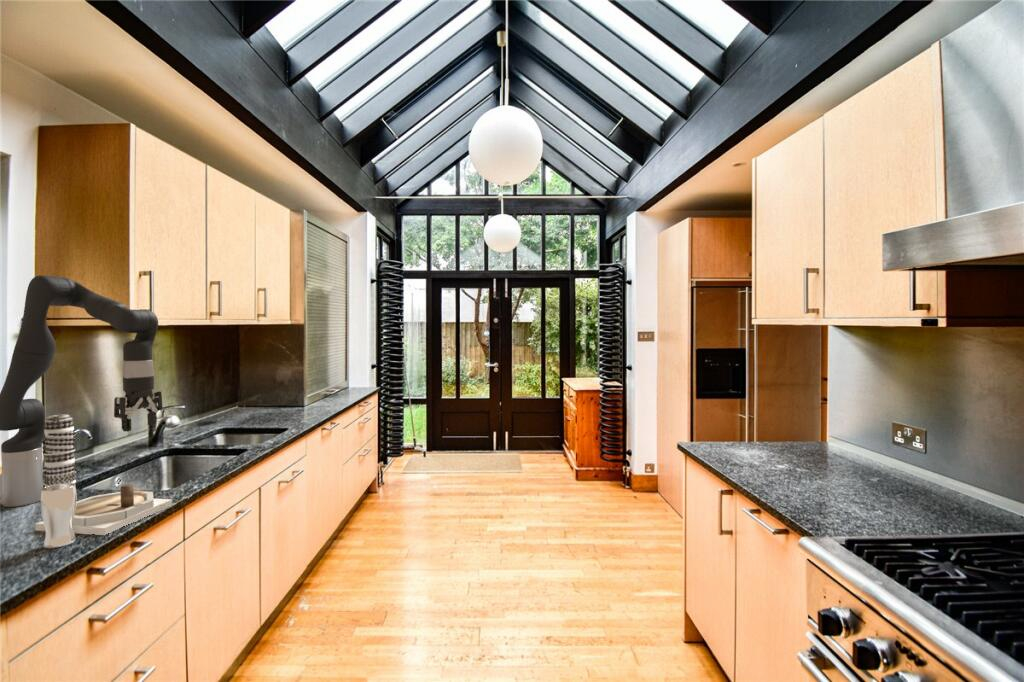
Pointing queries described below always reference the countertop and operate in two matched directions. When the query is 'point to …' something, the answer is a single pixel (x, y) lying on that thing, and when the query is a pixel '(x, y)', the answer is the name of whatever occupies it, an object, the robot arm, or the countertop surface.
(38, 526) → the dial housing
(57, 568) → the countertop surface
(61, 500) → the beer glass
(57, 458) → the decorative candle
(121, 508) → the dial
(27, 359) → the robot arm
